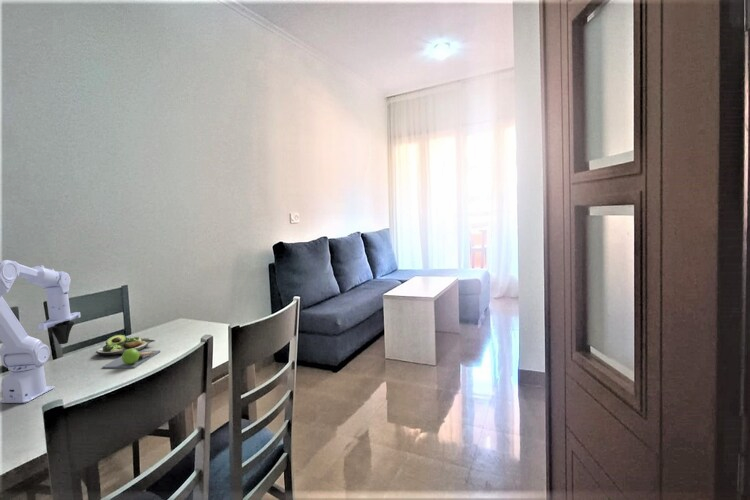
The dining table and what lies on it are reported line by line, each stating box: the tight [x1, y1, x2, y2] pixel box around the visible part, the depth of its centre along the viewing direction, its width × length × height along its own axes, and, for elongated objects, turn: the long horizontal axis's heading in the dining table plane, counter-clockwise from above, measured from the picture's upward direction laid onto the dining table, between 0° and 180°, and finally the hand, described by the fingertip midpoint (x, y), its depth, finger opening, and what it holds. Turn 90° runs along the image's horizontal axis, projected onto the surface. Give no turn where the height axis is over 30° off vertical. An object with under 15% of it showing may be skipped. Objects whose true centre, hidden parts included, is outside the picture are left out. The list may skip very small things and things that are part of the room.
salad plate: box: [96, 334, 156, 357], centre depth 152 cm, size 19×18×5 cm
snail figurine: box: [121, 349, 155, 364], centre depth 138 cm, size 5×6×12 cm
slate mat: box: [102, 350, 161, 369], centre depth 140 cm, size 15×12×1 cm
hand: (63, 343), depth 130 cm, fingers closed
